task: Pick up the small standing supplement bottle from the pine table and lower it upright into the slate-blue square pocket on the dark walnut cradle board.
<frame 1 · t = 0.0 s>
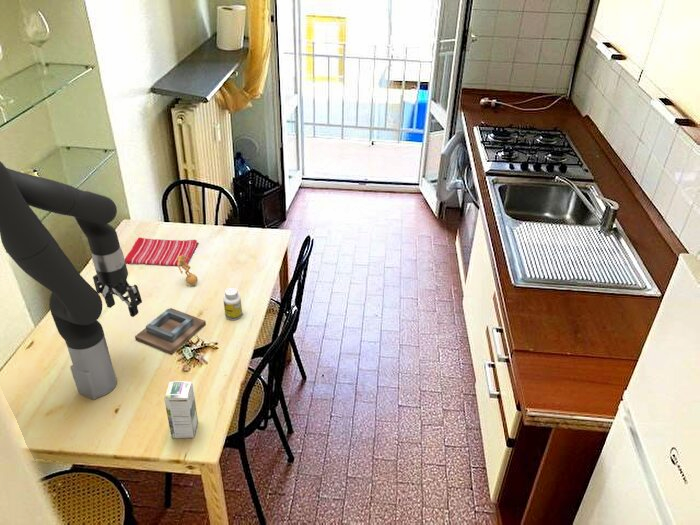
hand: (123, 310, 157), 17 cm above the table, tool pointing down, fingers open, 8 cm apart
syrup box: (185, 430, 145), on the table
cradle board: (171, 332, 176), on the table
figurine: (189, 284, 198), on the table
supplement bottle: (233, 315, 184), on the table
dish towel: (162, 254, 215), on the table
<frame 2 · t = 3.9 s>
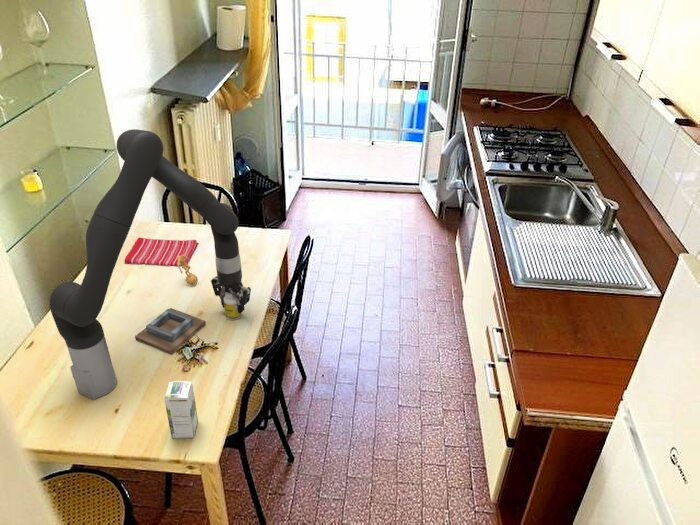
hand: (233, 309, 183), 3 cm above the table, tool pointing down, fingers closed on supplement bottle, 5 cm apart
supplement bottle: (233, 315, 184), on the table, touching gripper
everything else where it was.
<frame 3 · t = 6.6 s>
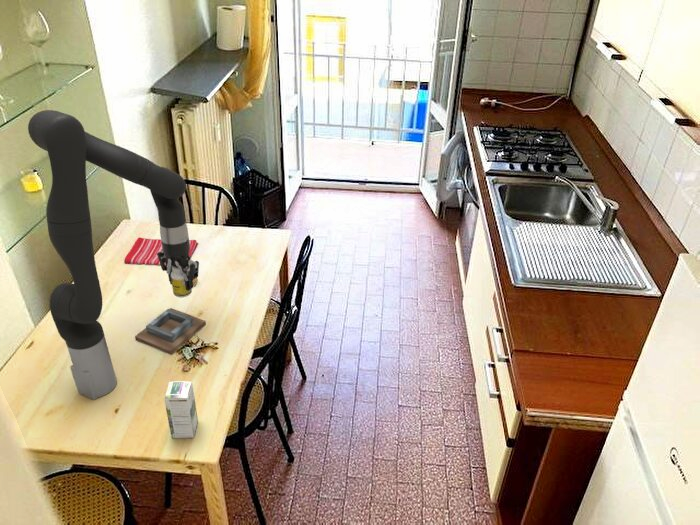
hand: (181, 286, 169), 17 cm above the table, tool pointing down, fingers closed on supplement bottle, 5 cm apart
supplement bottle: (182, 293, 170), point 14 cm above the table, touching gripper
everything else where it was.
when the fingers open (5 cm above the table, at t = 9.3 s): supplement bottle stays where it is, resting on cradle board.
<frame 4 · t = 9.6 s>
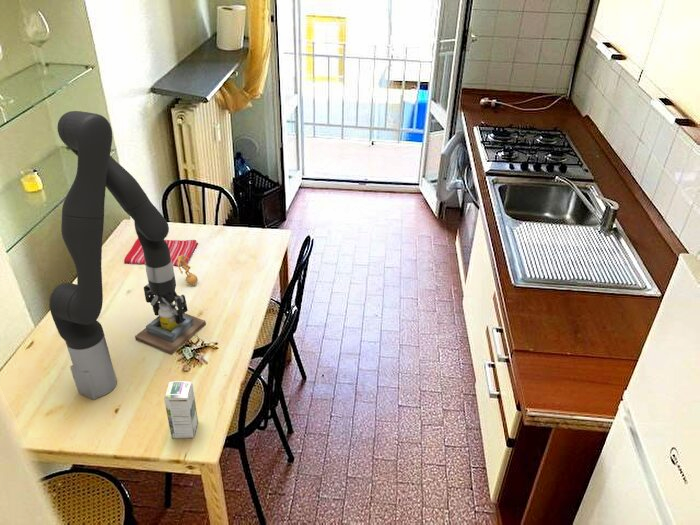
hand: (168, 318, 173), 6 cm above the table, tool pointing down, fingers open, 8 cm apart
supplement bottle: (170, 329, 176), point 1 cm above the table, touching cradle board
everything else where it was.
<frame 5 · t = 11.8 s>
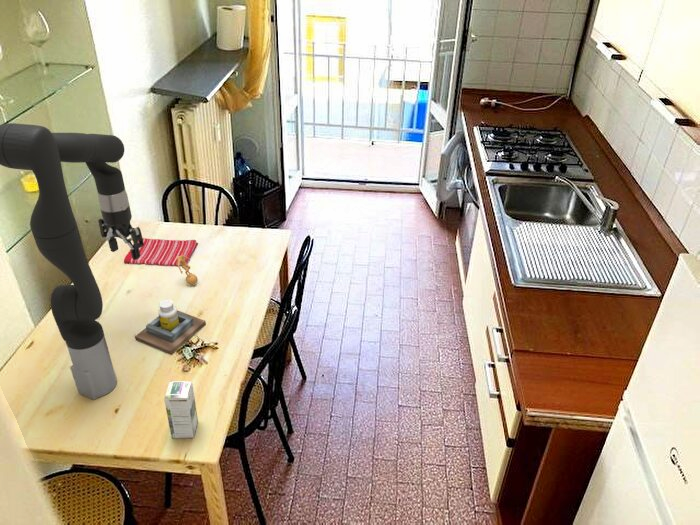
hand: (125, 254, 165), 26 cm above the table, tool pointing down, fingers open, 8 cm apart
nothing on the table moved.
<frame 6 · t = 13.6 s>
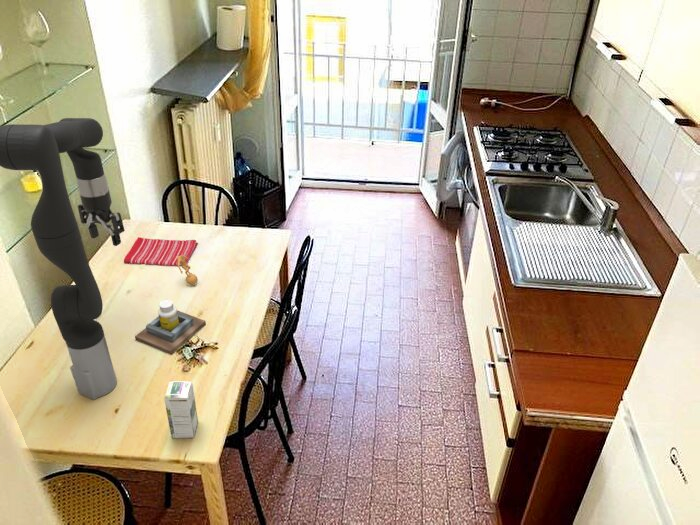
hand: (106, 240, 163), 30 cm above the table, tool pointing down, fingers open, 8 cm apart
nothing on the table moved.
at the end: supplement bottle 0.0 cm off-centre on the cradle board, point 1.3 cm above the cradle board's base; supplement bottle tilted 0°; the gripper is holding nothing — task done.
